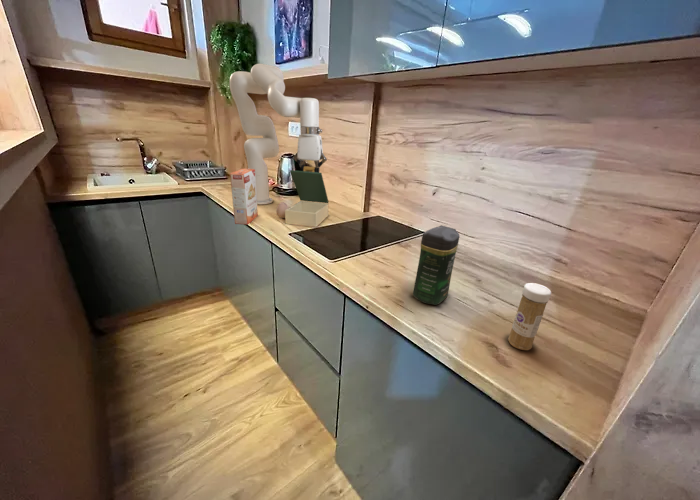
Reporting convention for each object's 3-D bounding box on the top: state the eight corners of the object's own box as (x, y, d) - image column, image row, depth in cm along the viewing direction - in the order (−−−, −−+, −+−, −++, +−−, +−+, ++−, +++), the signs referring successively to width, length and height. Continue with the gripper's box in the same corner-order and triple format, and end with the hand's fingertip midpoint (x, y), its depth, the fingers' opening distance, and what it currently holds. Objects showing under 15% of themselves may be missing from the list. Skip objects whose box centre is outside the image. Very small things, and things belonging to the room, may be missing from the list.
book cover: (320, 174, 124) (324, 164, 127) (289, 171, 126) (294, 161, 129) (328, 203, 139) (331, 193, 142) (300, 200, 142) (303, 191, 145)
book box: (315, 227, 126) (315, 213, 124) (285, 223, 129) (284, 210, 127) (328, 215, 142) (328, 203, 140) (301, 212, 145) (300, 200, 142)
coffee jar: (437, 309, 73) (450, 238, 66) (408, 298, 78) (417, 229, 71) (452, 294, 81) (465, 228, 73) (424, 284, 85) (434, 220, 78)
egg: (290, 219, 135) (290, 202, 132) (278, 220, 132) (277, 203, 130) (287, 215, 139) (286, 200, 136) (275, 217, 137) (274, 200, 134)
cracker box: (249, 225, 125) (244, 173, 116) (234, 224, 125) (228, 172, 116) (259, 215, 137) (255, 168, 129) (245, 215, 138) (241, 167, 129)
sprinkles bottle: (503, 340, 64) (519, 284, 59) (516, 334, 66) (533, 280, 61) (523, 354, 60) (542, 296, 55) (537, 347, 62) (557, 290, 57)
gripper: (332, 132, 126) (331, 176, 133) (294, 130, 129) (295, 173, 136) (326, 132, 119) (326, 179, 126) (286, 130, 122) (288, 176, 130)
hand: (310, 176), depth 131 cm, fingers closed on book cover, 5 cm apart
